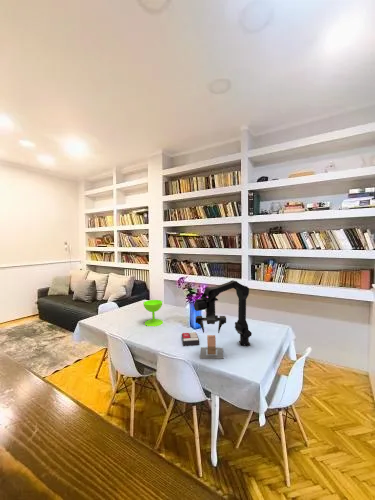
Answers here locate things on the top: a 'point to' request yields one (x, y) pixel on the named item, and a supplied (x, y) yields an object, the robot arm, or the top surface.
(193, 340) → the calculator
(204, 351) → the build plate
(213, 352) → the base block
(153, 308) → the wineglass
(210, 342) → the top block
